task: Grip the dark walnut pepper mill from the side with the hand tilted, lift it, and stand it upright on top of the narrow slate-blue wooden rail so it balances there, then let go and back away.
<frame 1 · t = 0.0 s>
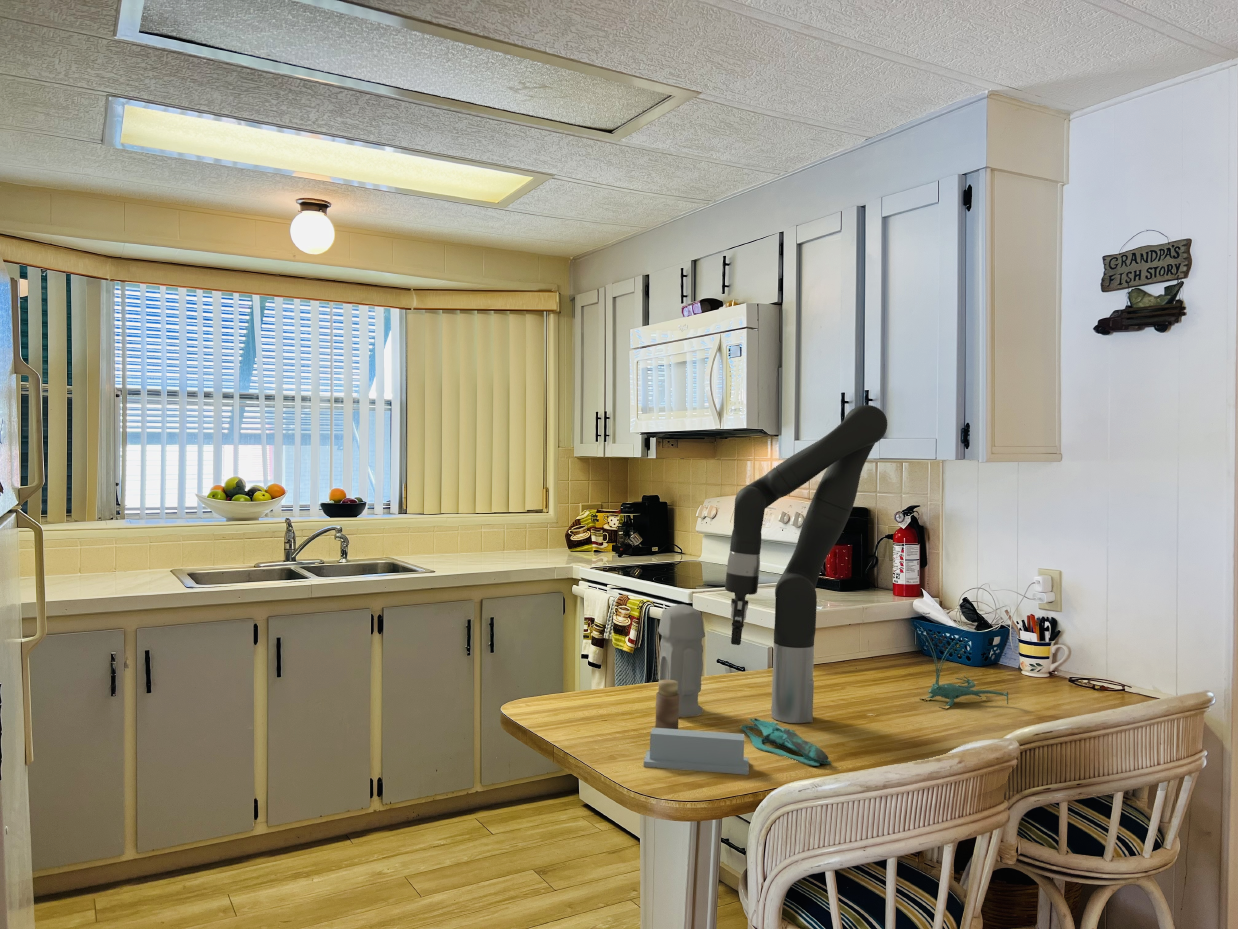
hand: (735, 640, 212), 17 cm above the counter, tool pointing down, fingers open, 8 cm apart
pepper mill: (666, 741, 191), on the counter
rail: (696, 764, 177), on the counter
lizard: (948, 704, 228), on the counter
toy spaceship: (782, 750, 189), on the counter
grey moai statue: (679, 711, 214), on the counter
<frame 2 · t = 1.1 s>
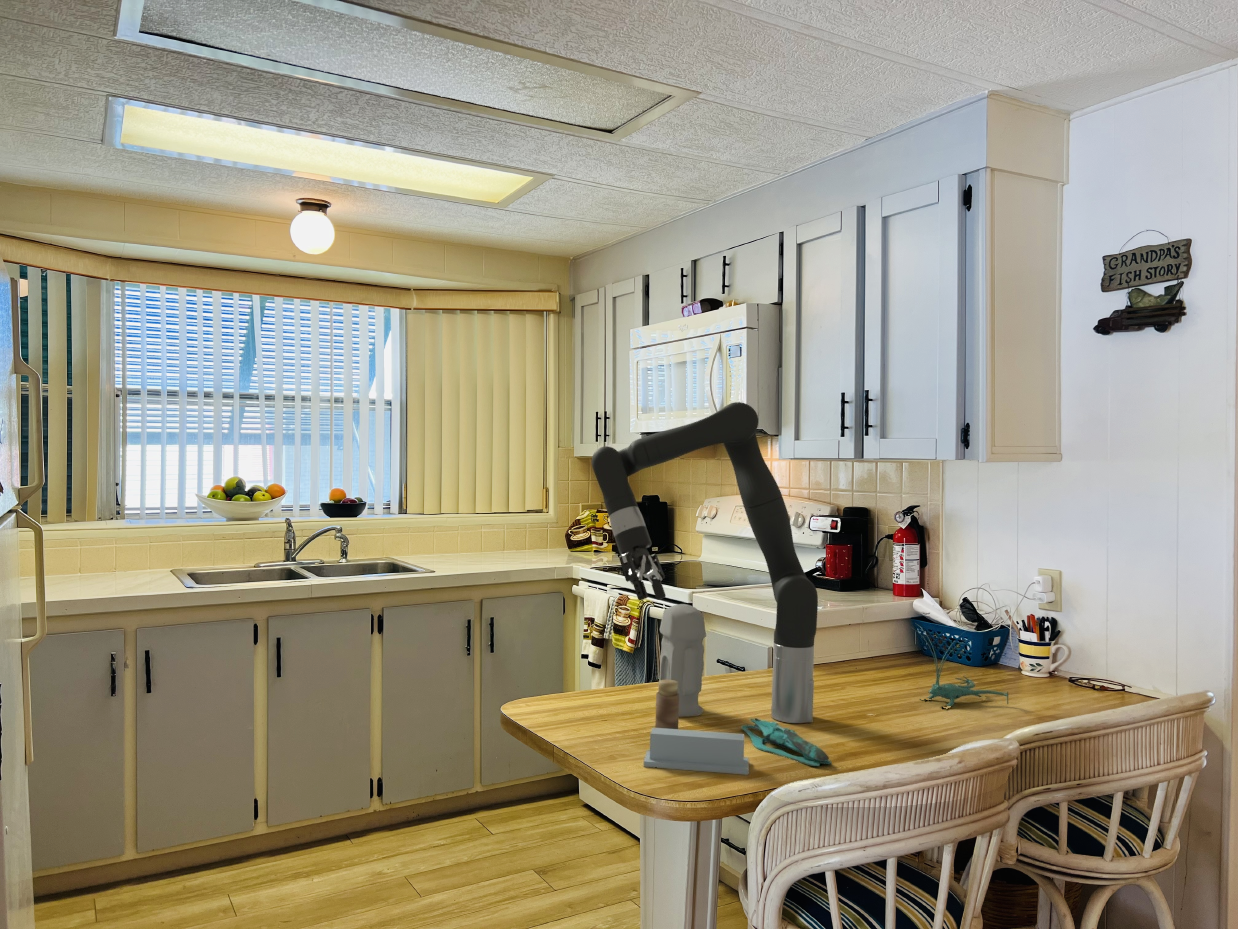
hand: (652, 598, 201), 28 cm above the counter, tool tilted 25°, fingers open, 8 cm apart
nothing on the counter moved.
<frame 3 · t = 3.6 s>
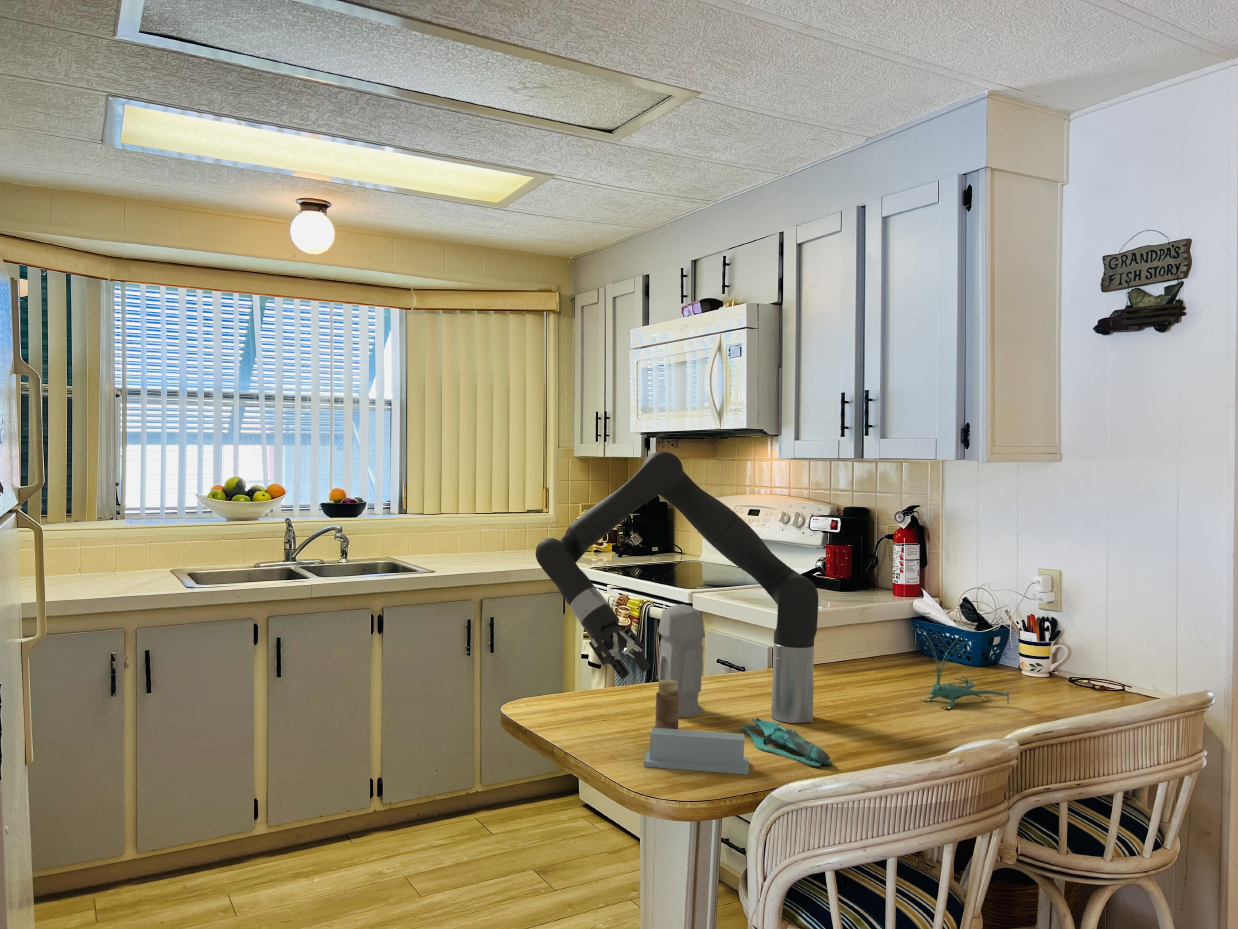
hand: (636, 673, 195), 13 cm above the counter, tool tilted 45°, fingers open, 8 cm apart
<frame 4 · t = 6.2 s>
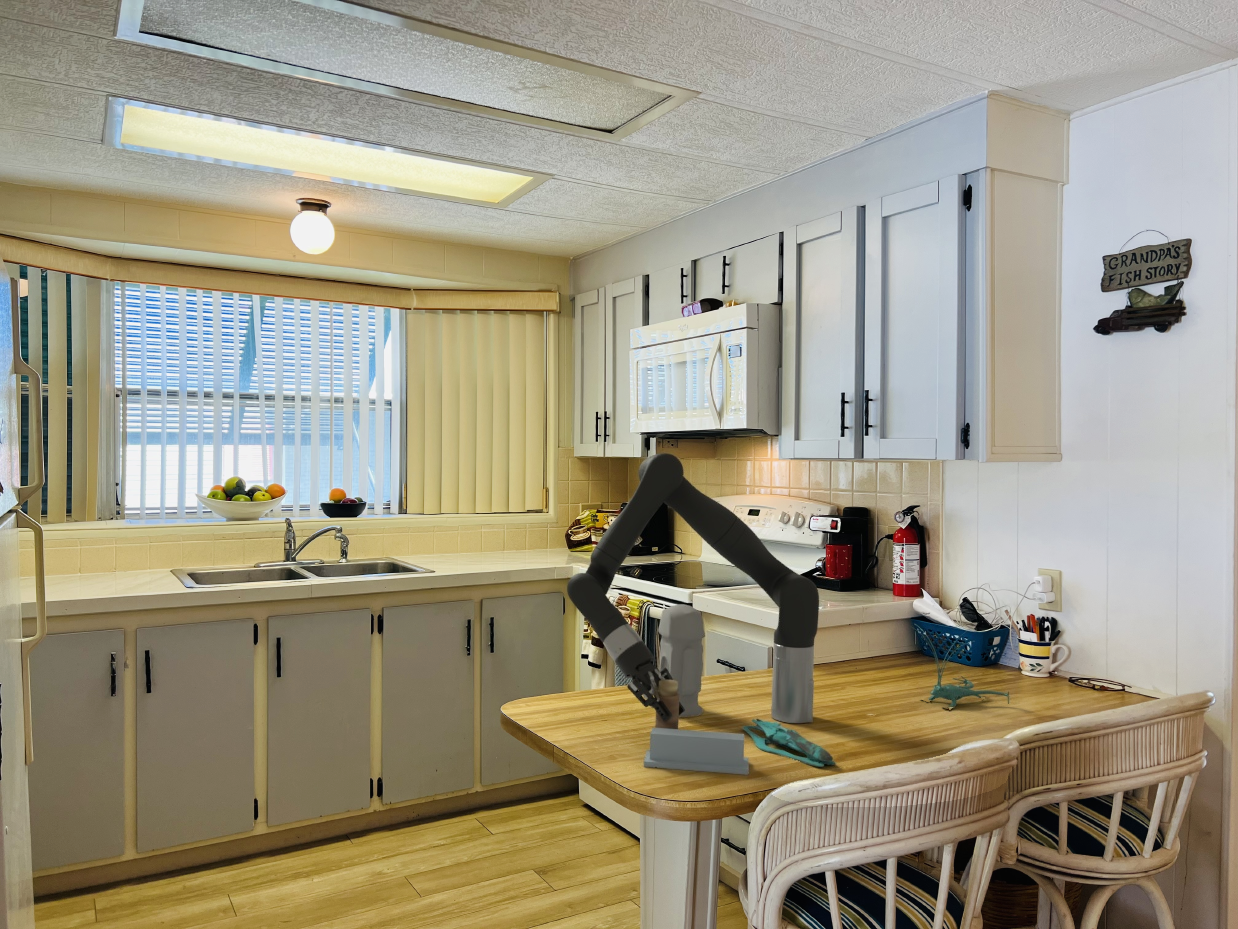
hand: (675, 716, 190), 6 cm above the counter, tool tilted 45°, fingers closed on pepper mill, 4 cm apart
pepper mill: (666, 741, 191), on the counter, touching gripper
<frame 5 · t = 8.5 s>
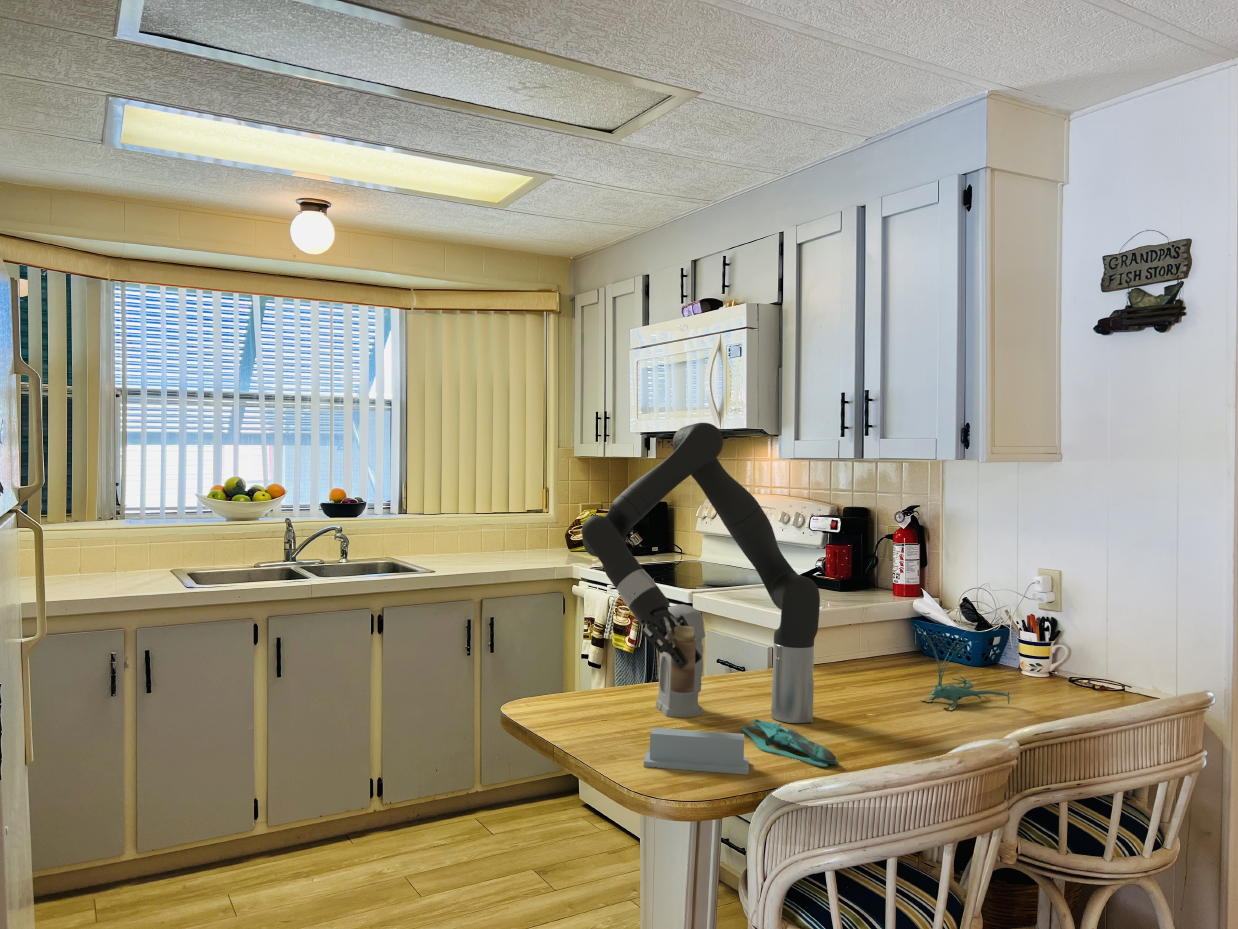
hand: (691, 663, 182), 19 cm above the counter, tool tilted 45°, fingers closed on pepper mill, 4 cm apart
pepper mill: (682, 689, 183), point 13 cm above the counter, touching gripper
when the fingers open (13 cm above the counter, at t = 10.9 s): pepper mill stays where it is, resting on rail.
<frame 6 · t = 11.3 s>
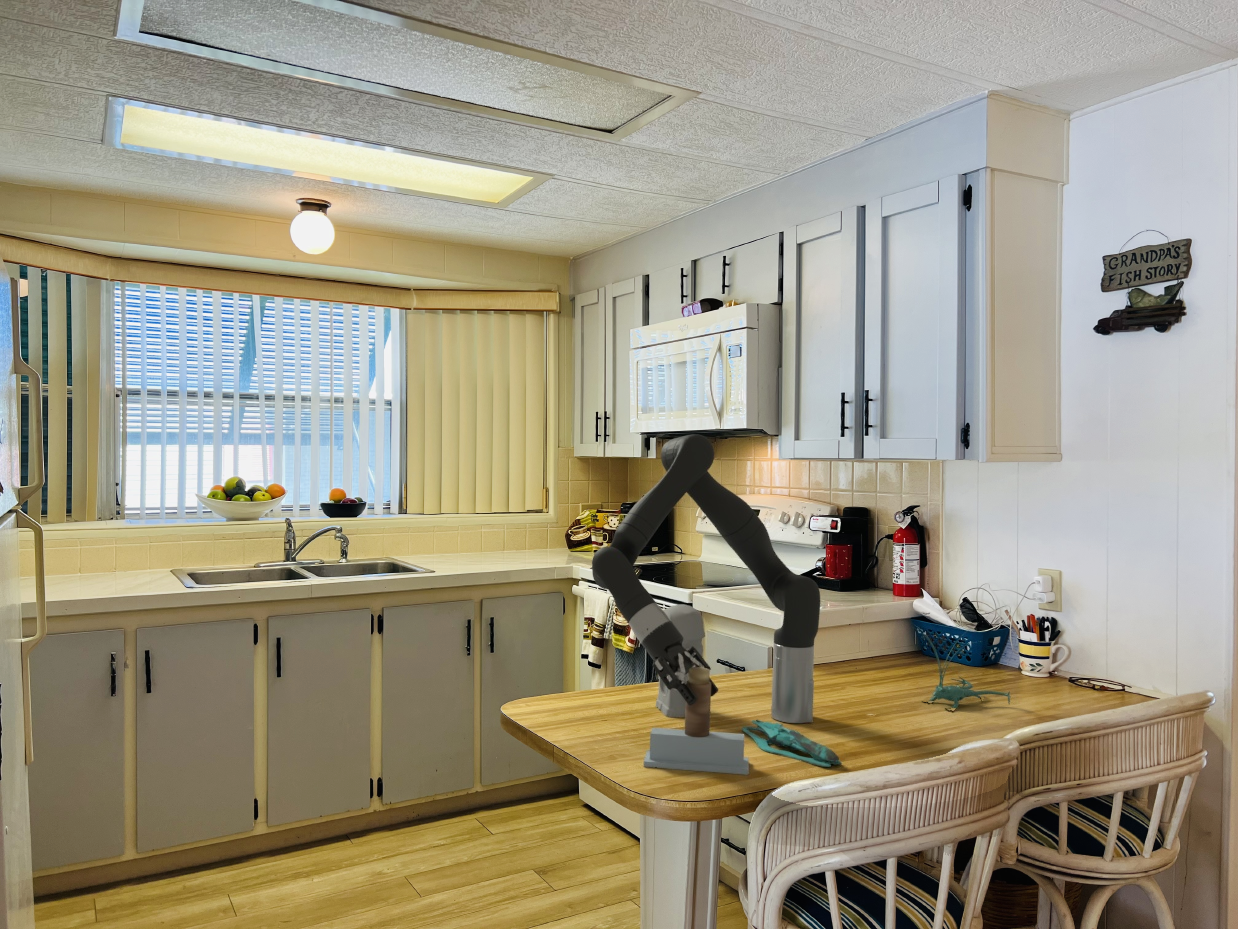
hand: (704, 698, 176), 13 cm above the counter, tool tilted 45°, fingers open, 8 cm apart
pepper mill: (696, 733, 177), point 6 cm above the counter, touching rail
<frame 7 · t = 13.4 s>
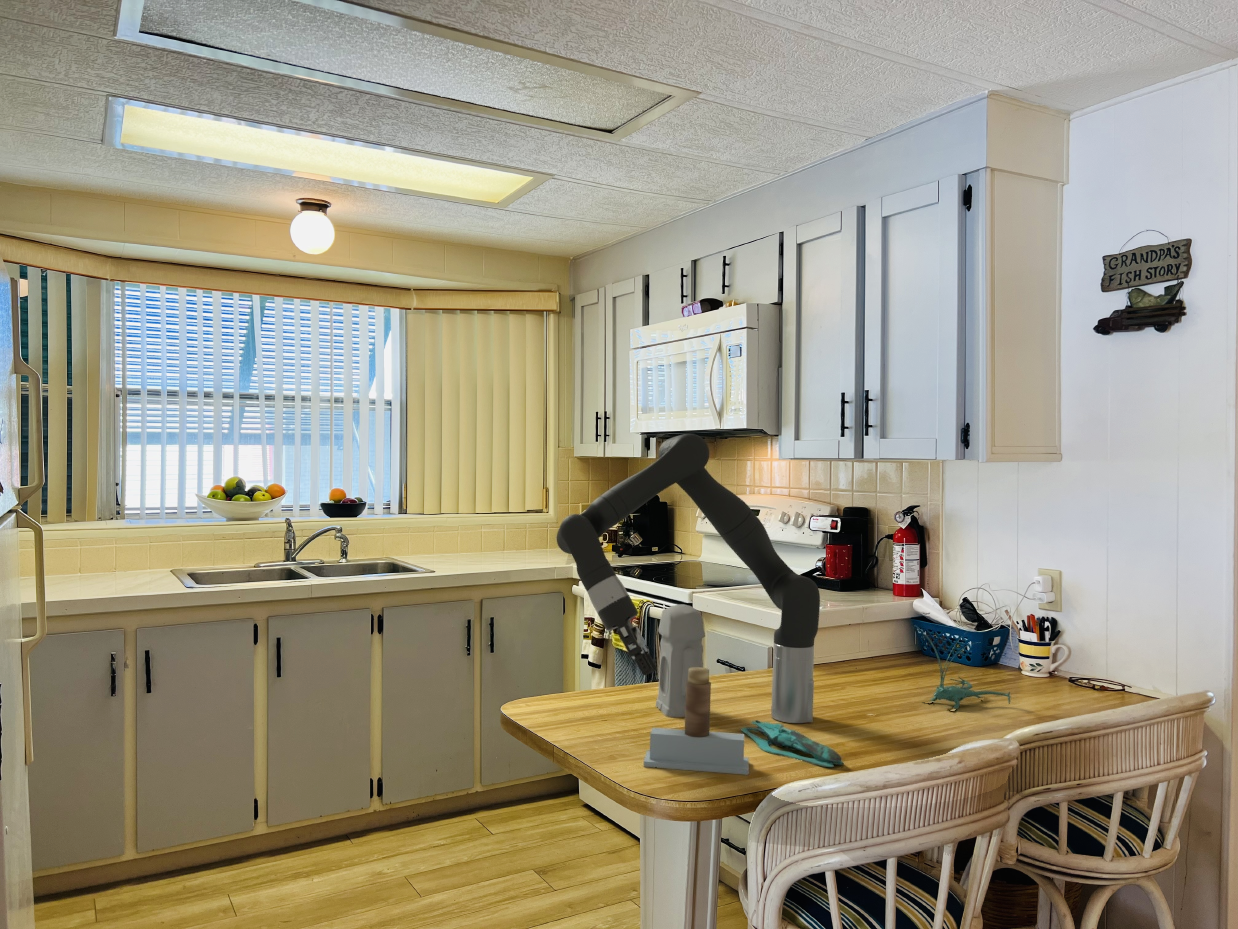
hand: (651, 672, 185), 16 cm above the counter, tool tilted 35°, fingers open, 8 cm apart
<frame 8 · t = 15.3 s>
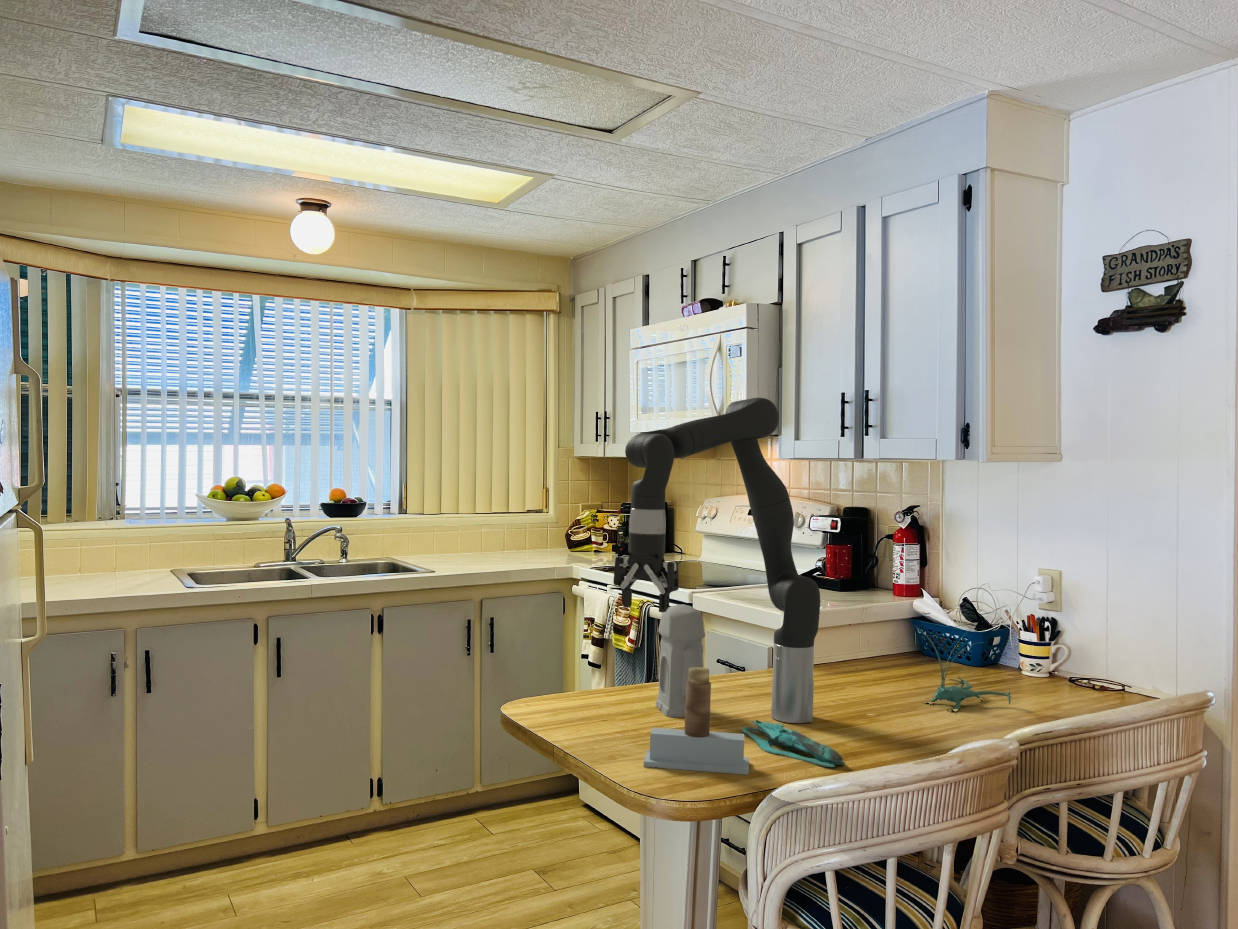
hand: (644, 609, 187), 28 cm above the counter, tool pointing down, fingers open, 8 cm apart
at the end: pepper mill inside the target area on the rail (0.1 cm from its centre), point 6.0 cm above the rail's base; pepper mill tilted 0°; pepper mill touching rail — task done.
